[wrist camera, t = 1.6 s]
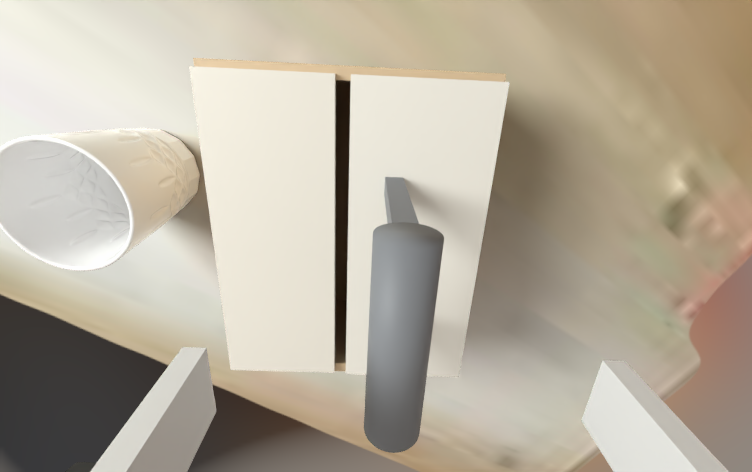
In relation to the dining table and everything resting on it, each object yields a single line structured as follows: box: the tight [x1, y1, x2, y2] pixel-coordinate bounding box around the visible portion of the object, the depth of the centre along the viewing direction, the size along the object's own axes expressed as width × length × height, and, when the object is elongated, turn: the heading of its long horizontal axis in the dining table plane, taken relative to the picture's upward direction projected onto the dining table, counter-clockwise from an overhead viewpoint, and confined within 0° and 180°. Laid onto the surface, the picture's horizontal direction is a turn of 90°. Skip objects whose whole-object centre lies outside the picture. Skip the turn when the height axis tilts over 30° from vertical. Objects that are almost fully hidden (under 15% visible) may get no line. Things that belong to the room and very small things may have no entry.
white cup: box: [0, 128, 200, 271], centre depth 25 cm, size 8×8×10 cm
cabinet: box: [189, 58, 506, 373], centre depth 26 cm, size 20×16×10 cm
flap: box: [346, 74, 510, 453], centre depth 18 cm, size 19×8×10 cm, turn 177°
